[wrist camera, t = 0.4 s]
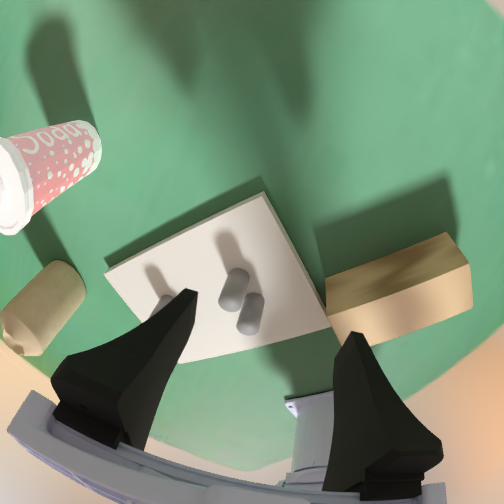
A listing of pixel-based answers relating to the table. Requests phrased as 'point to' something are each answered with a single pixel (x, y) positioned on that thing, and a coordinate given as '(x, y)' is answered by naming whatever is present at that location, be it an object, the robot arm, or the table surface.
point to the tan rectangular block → (400, 291)
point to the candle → (42, 308)
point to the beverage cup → (43, 168)
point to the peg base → (209, 277)
